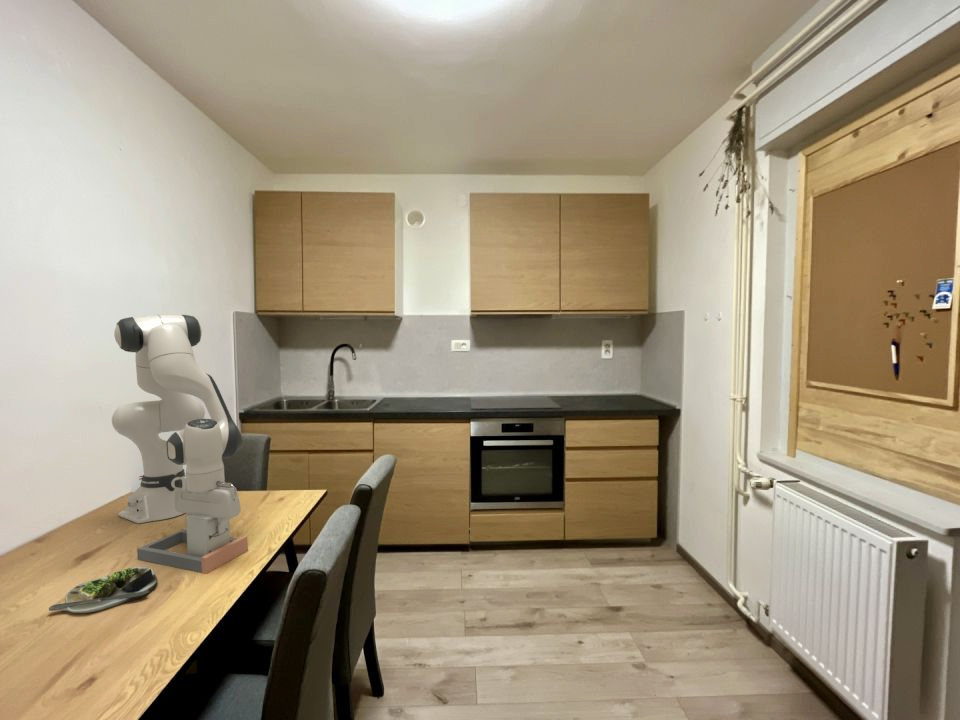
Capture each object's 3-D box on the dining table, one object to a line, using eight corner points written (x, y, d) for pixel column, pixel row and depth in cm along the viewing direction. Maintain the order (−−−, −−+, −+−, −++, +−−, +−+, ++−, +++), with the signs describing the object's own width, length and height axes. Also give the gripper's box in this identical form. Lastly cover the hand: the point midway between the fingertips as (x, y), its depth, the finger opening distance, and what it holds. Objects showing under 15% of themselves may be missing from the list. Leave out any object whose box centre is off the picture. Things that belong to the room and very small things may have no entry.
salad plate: (48, 633, 94) (47, 612, 93) (49, 598, 107) (47, 579, 106) (162, 595, 107) (161, 576, 107) (150, 568, 120) (149, 551, 120)
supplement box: (207, 566, 119) (205, 519, 119) (187, 562, 122) (184, 516, 121) (231, 554, 126) (229, 509, 126) (212, 550, 129) (209, 506, 128)
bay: (137, 559, 124) (136, 545, 124) (183, 539, 136) (182, 526, 136) (206, 573, 116) (205, 558, 116) (248, 550, 128) (247, 536, 128)
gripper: (245, 479, 122) (247, 530, 123) (189, 473, 129) (192, 521, 130) (224, 487, 116) (227, 540, 117) (167, 480, 123) (170, 530, 124)
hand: (208, 530), depth 124 cm, fingers closed on supplement box, 7 cm apart
